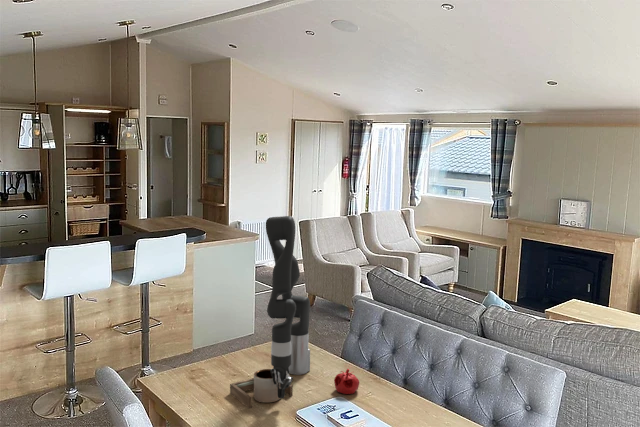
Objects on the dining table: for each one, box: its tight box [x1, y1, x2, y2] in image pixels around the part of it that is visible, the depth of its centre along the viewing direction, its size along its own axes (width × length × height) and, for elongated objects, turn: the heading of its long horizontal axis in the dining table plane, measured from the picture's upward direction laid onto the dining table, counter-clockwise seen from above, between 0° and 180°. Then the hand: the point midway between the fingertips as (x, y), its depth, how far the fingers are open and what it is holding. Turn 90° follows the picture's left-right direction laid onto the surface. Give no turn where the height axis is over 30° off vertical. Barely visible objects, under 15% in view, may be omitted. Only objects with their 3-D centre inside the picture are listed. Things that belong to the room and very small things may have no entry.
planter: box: [253, 368, 280, 404], centre depth 219 cm, size 11×11×10 cm
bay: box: [229, 377, 294, 409], centre depth 223 cm, size 19×15×4 cm
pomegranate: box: [333, 368, 360, 395], centre depth 227 cm, size 10×10×9 cm
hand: (281, 397), depth 212 cm, fingers closed
